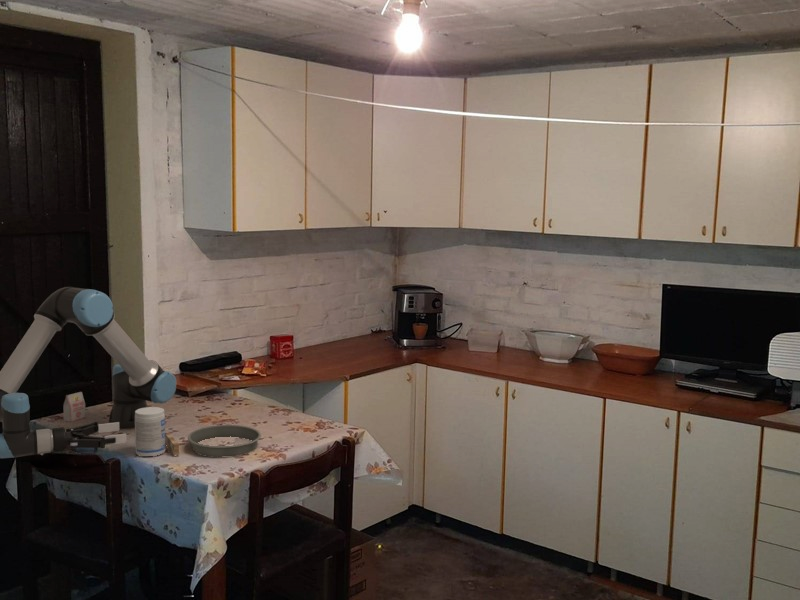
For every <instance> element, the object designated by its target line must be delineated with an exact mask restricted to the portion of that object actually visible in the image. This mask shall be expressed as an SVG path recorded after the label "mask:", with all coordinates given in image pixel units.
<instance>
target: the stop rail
mask: <svg viewBox="0 0 800 600" xmlns="http://www.w3.org/2000/svg"><path fill="white" fill-rule="evenodd" d="M165 444H166V445H167V446H166V445H165V446H166V448H167V447H168V448H169V449H170V450H169V449H168V448H167V449H168V450H169V452H170V451H171V452H172V453H173V454H172V453H171V452H170V453H171V454H172V456H173V455H174V456H175V455H176V457H178V456H177V455H179V456H180V444H179V442H177V441H176V439H175V438H174V437H173V435H172V434H171V433H170V432H165ZM174 456H173V457H174Z"/></svg>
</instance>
